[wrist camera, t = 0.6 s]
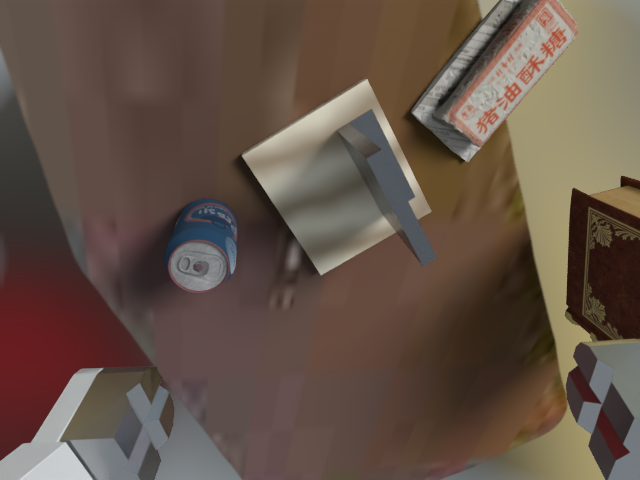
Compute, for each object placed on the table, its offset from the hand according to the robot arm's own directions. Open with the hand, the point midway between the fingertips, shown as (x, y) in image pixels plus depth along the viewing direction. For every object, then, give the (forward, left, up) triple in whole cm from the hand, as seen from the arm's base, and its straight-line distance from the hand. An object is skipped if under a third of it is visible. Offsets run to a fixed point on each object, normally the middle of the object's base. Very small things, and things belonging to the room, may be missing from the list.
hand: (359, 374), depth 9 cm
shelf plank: (+12, +2, -44) cm, 46 cm away
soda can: (+8, -13, -45) cm, 47 cm away
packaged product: (+10, +24, -45) cm, 52 cm away
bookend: (+12, +7, -43) cm, 45 cm away
